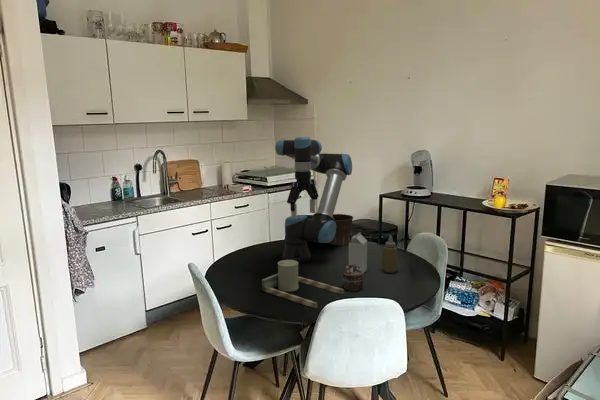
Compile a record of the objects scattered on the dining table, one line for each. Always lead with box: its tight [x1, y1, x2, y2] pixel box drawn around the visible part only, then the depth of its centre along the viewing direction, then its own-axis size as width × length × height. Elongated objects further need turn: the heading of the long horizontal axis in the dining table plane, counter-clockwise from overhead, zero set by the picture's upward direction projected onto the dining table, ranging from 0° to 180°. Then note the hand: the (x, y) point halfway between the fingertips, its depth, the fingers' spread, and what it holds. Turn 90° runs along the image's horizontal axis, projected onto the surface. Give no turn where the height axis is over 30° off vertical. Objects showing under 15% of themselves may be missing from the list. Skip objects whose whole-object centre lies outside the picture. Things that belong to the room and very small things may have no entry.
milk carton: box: [348, 231, 368, 275], centre depth 218 cm, size 7×7×19 cm
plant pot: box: [329, 213, 354, 247], centre depth 268 cm, size 16×16×16 cm
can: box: [277, 259, 300, 293], centre depth 199 cm, size 9×9×12 cm
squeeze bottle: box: [381, 234, 399, 274], centre depth 218 cm, size 8×8×18 cm
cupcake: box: [341, 264, 365, 292], centre depth 199 cm, size 10×10×10 cm
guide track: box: [261, 273, 345, 309], centre depth 195 cm, size 30×19×5 cm, turn 49°
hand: (303, 215), depth 214 cm, fingers open, 13 cm apart
